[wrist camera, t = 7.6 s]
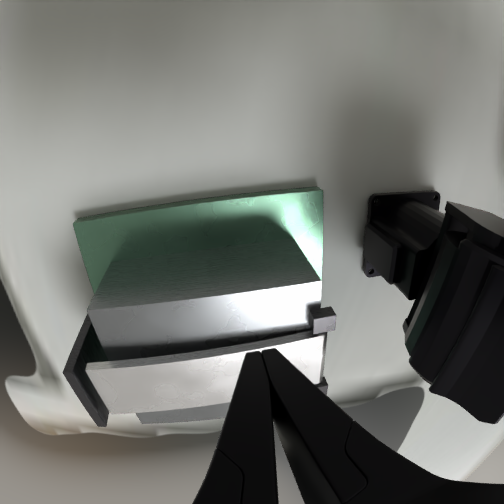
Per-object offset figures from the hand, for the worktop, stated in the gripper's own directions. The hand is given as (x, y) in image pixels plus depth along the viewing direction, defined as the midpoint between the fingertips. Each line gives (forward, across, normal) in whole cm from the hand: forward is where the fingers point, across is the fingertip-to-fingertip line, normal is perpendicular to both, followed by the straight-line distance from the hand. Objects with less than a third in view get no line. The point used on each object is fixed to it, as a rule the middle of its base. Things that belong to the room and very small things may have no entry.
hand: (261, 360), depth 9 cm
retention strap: (+6, +2, +7) cm, 10 cm away
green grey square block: (+13, +2, +7) cm, 15 cm away
